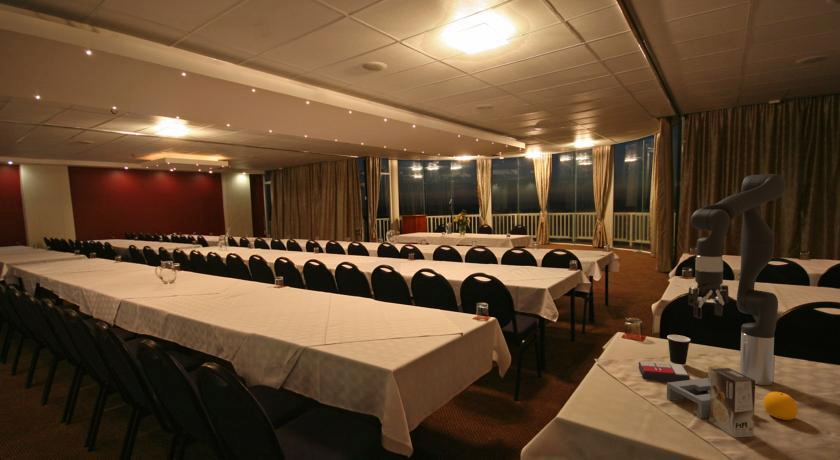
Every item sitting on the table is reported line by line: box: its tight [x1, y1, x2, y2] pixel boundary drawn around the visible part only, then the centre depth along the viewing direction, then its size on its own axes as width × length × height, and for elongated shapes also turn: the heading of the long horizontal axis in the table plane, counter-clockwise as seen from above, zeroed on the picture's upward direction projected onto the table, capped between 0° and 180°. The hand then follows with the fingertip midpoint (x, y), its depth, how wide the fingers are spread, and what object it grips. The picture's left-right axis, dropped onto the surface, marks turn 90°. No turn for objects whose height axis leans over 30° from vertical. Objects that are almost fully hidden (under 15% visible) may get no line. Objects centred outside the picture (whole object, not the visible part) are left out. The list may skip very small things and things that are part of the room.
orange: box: [763, 391, 799, 421], centre depth 122 cm, size 8×8×8 cm
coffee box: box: [708, 367, 756, 438], centre depth 116 cm, size 9×6×16 cm
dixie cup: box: [666, 334, 691, 368], centre depth 163 cm, size 8×8×11 cm
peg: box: [707, 364, 723, 382], centre depth 130 cm, size 5×5×12 cm
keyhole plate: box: [666, 377, 710, 419], centre depth 130 cm, size 18×13×6 cm
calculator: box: [638, 360, 691, 383], centre depth 152 cm, size 11×4×15 cm
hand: (708, 316), depth 136 cm, fingers open, 8 cm apart
